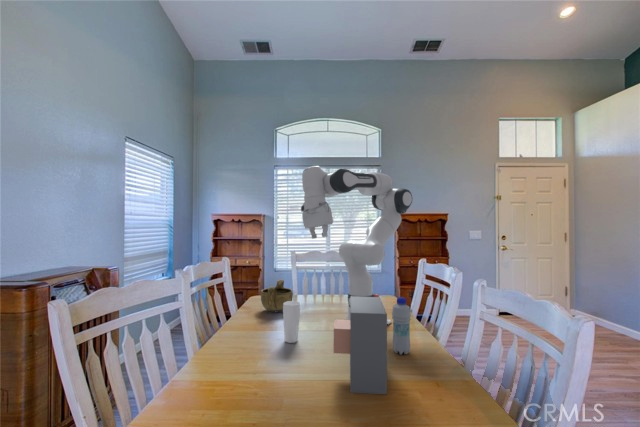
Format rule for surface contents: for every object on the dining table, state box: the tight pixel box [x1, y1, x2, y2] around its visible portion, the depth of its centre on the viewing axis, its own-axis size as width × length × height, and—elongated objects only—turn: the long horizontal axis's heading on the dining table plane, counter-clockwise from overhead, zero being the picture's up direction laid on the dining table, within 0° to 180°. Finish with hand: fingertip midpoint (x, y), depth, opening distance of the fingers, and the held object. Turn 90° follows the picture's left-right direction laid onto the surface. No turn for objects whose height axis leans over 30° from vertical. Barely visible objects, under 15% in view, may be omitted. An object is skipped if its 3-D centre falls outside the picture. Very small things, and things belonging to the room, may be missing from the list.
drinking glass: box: [282, 300, 301, 344], centre depth 126 cm, size 7×7×15 cm
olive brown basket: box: [260, 278, 294, 313], centre depth 169 cm, size 22×17×15 cm
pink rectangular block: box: [333, 319, 351, 355], centre depth 98 cm, size 5×9×7 cm, turn 175°
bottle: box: [391, 296, 412, 356], centre depth 115 cm, size 7×7×20 cm
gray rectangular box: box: [349, 296, 388, 395], centre depth 97 cm, size 10×20×22 cm, turn 175°
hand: (319, 237), depth 130 cm, fingers open, 8 cm apart
